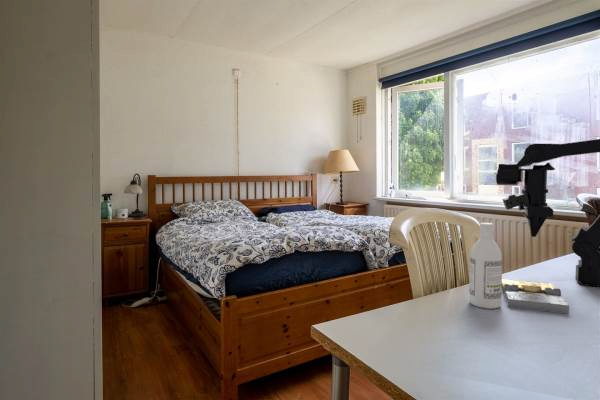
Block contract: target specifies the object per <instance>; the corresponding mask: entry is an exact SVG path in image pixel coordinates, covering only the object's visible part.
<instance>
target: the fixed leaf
mask: <svg viewBox="0 0 600 400" xmlns="http://www.w3.org/2000/svg"><path fill="white" fill-rule="evenodd" d="M503 295H504V297H503V298H504V299H505V302H506V305H507V307H508V308H515V309H524V310H531V311H533V310H534V311H541V312H549V313H550V312H551V313H559V314H566V315H569V313H570V305H569V303H568V302H567V301H566V300H565V298H564V297H563V296H562V290H561V289H560V288H556V287H555V288H545V290H544V294H542V293H532V292H522V291H518V285H513V284H504V293H503Z"/></svg>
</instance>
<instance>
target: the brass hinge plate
mask: <svg viewBox="0 0 600 400" xmlns="http://www.w3.org/2000/svg"><path fill="white" fill-rule="evenodd" d="M504 284H513V285H518V291H522V292H532V293H542V294H544V290H545V288H556V287H555V286H554V285H553V283H551V284H549V283H545V282H535V281H534V282H532V281H523V280H522V281H521V280H510V279H502V288H501V290H502V294H504Z"/></svg>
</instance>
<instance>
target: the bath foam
mask: <svg viewBox="0 0 600 400" xmlns="http://www.w3.org/2000/svg"><path fill="white" fill-rule="evenodd" d="M469 255H470V256H469V291H468V293H469V296H468V297H469V299H468V300H469V303H470V304H471V305H473V306H475V307H478V308H481V309H490V310H491V309H492V310H493V309H494V310H495V309H498V308H500V307H501V305H502V293H501V290H502V280H503V279H502V278H503V254H502V251H501V249H500V247H499V245H498V244H497V242H496V241H495V240H494V223H493V222H480V223H479V238H478V239H477V240H476V242H475V243H474V244H473V246H472V248H471V250H470V254H469Z"/></svg>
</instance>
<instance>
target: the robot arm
mask: <svg viewBox="0 0 600 400" xmlns="http://www.w3.org/2000/svg"><path fill="white" fill-rule="evenodd" d="M595 153H600V138H595V139H590V140H582V141H575V142H567V143H531V144H530V145H528V146H527V147H526V148H525V149H524V154H523V156H522V158H521V159H519V161H518V162H517V163H514V164H511V163H510V164H508V163H507V164H506V163H499V164H498V168H497V171H496V172H497V173H496V174H495V179H496V180H495V182H496V185H497V186H518V185H519V183H523V180H524V185H523V189H521V192H520V193H518V194H514V193H513V194H511V195H508V196H507V197H505V198H502V202H503V204H504V207H505V209H506V210H512V209H513V208H516V207H517V208H518V211H523V212H521V215H523V216H524V218H526V220H527V223H528V227H529V233H530V236H531V237H533V238H535V237H537V235H538V233H539V231H540V230H541V229H542V226H543V225H544V223H545V222H546V220H547V218H548V217H549V218H551V217H552V218H553V217H554V209H553V208H551V207H550V206H549V205H548V203H547V194H548V193H549V189H547V187H548V186H547V185H548V184H547V182H548V171H555V170H556V167H554V166H552V165H551V163H550V162H548V161H552V160H556V159H559V158H563V157H571V156H579V155H581V156H582V155H588V154H595ZM544 162H546V163H545V164H541V163H544ZM533 164H534V165H533ZM531 165H533V166H532V168H522V167H530V166H531ZM597 216H598V217H597V218H596V219H595V220H594V221H593V223H591V224H590V225H589V226H587V228H586V227H585V226H583V225H581V226H580V228H579V230H578V232H577V233H576V234H575V235H573V236H572V240H571V241H573V242H572V245H571V248H572V252H573V253H574V254H575V255H576V256H578V257H579V259H578V262H577V263H578V264H577V265H575V280H576V281H577V282H578V283H579V284H580V285H582V286H589V287H592V286H593V287H599V288H600V214H599V215H597Z"/></svg>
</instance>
